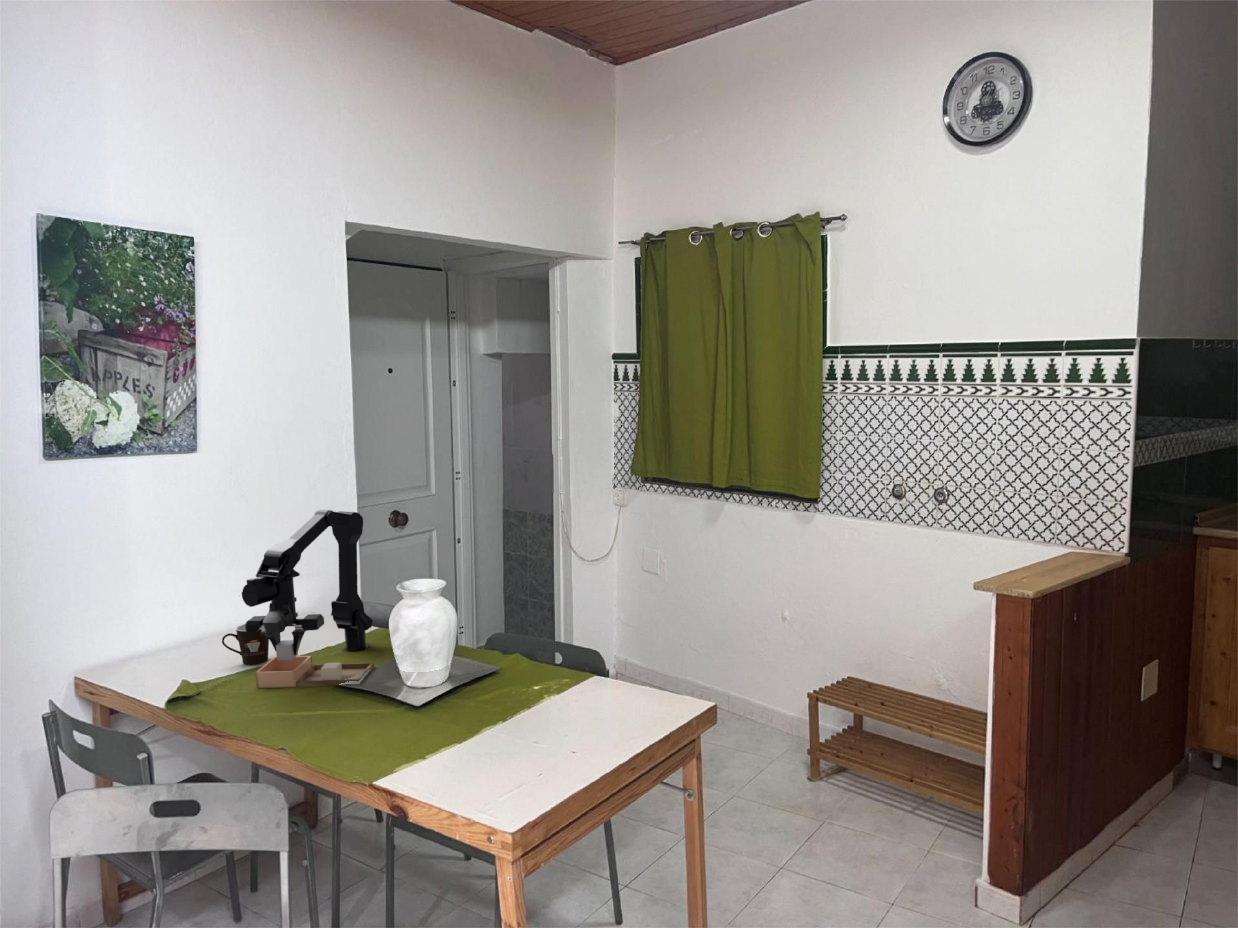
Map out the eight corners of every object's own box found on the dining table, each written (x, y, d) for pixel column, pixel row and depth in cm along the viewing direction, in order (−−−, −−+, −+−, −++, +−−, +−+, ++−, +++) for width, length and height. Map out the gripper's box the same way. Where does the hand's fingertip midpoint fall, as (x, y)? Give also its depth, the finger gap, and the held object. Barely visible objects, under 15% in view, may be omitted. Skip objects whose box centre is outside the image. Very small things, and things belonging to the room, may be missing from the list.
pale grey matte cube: (282, 655, 235) (281, 640, 235) (298, 654, 235) (296, 639, 235) (276, 660, 231) (275, 645, 231) (292, 659, 231) (291, 644, 231)
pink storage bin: (275, 673, 238) (273, 656, 237) (312, 672, 238) (311, 655, 237) (256, 689, 226) (255, 672, 225) (296, 688, 226) (294, 671, 225)
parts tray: (314, 670, 239) (313, 664, 238) (374, 669, 238) (373, 662, 238) (296, 688, 226) (295, 681, 225) (359, 686, 225) (359, 679, 225)
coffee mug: (277, 656, 252) (275, 621, 251) (262, 666, 243) (259, 630, 242) (238, 656, 253) (235, 621, 252) (222, 666, 245) (219, 631, 243)
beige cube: (327, 677, 231) (325, 662, 230) (342, 677, 231) (341, 662, 230) (321, 683, 227) (320, 668, 227) (337, 682, 227) (336, 667, 226)
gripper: (233, 606, 224) (238, 666, 226) (307, 603, 224) (312, 664, 225) (251, 594, 235) (256, 652, 237) (322, 592, 235) (327, 650, 236)
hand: (287, 655), depth 233 cm, fingers closed on pale grey matte cube, 4 cm apart
